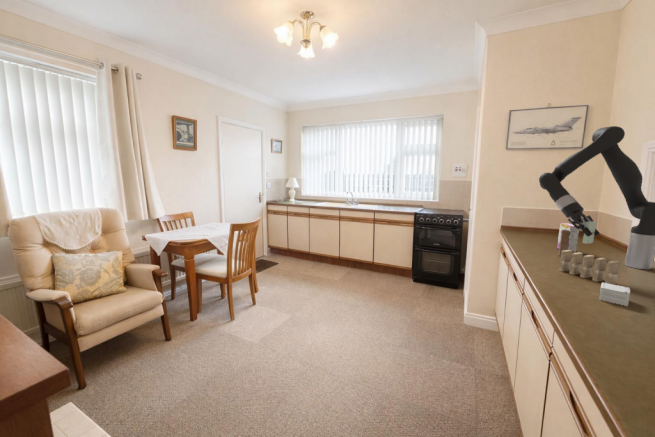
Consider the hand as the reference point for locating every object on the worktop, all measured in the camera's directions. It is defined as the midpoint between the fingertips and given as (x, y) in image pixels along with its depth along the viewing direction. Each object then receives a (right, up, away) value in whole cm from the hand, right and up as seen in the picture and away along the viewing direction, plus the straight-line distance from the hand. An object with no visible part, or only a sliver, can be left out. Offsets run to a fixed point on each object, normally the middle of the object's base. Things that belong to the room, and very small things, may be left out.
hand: (593, 235), depth 133 cm
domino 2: (-6, -18, +3) cm, 20 cm away
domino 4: (-5, -19, -1) cm, 20 cm away
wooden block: (+13, -14, +31) cm, 37 cm away
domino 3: (-1, -4, +2) cm, 5 cm away
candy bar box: (+22, -12, +42) cm, 49 cm away
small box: (-15, -23, -25) cm, 37 cm away
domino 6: (-2, -21, -9) cm, 23 cm away
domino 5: (-3, -20, -5) cm, 21 cm away
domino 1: (-8, -18, +7) cm, 21 cm away
